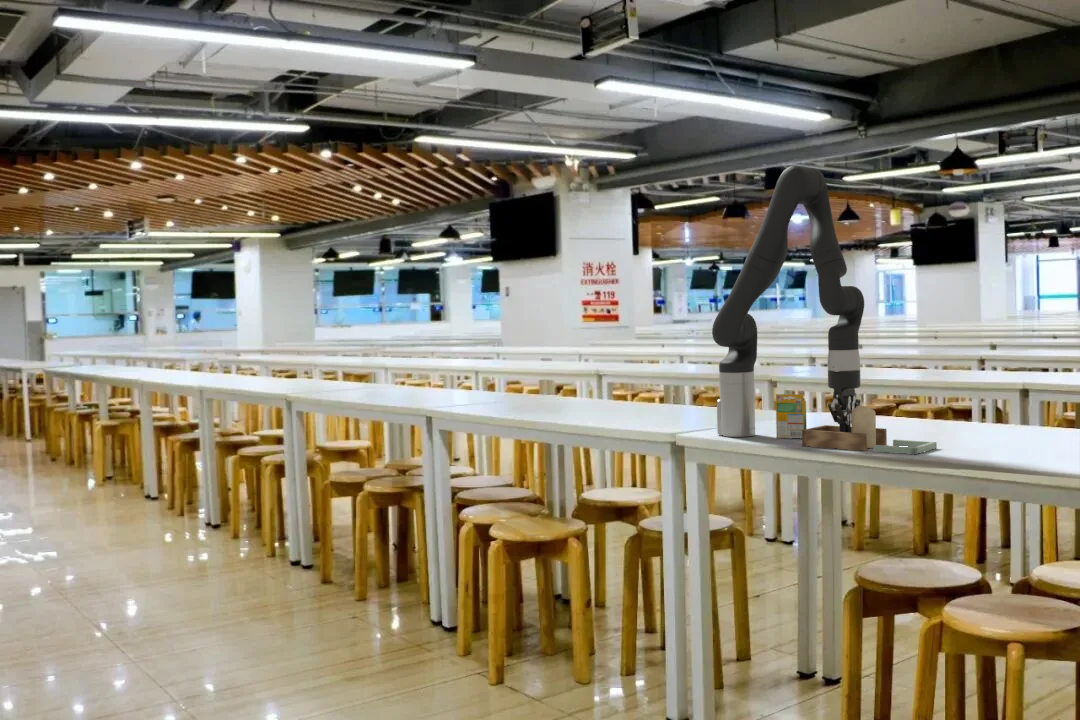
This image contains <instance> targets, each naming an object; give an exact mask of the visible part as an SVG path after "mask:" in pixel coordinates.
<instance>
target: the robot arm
mask: <svg viewBox="0 0 1080 720" xmlns="http://www.w3.org/2000/svg"><path fill="white" fill-rule="evenodd" d="M829 196H830V195H829V191H828V185H827V181H826V177H825V176H824V174H823V173H822V171H820V170H819V169H817V168H813V167H809V166H800V165H791V166H788V167H786V169H784V170H783V171H782V173H781V174H780V176H779V177H778V179H777V181H776V184H775V187H774V190H773V193H772V196H771V199H770V202H769V205H768V207H767V210H766V213H765V216H764V218H763V221H762V223H761V225H760V228H759V230H758V232H757V234H756V236H755V239H754V241H753V243H752V245H751V247H750V249H749V252H748V254H747V256H746V258H745V260H744V263H743V266H742V268H741V270H740V273H739V274H738V276H737V278H736V281H735V283H734V285H733V286H732V288H731V291H730V293H729V294H728V297H727V298H726V299H725V302H723V305H722V307H721V308H720V310H719V311H718V313H717V315H716V317H715V319H714V321H713V325H712V329H711V331H712V332H711V333H712V339H713V341H714V342H715V344H716V345H718V346H720V347H724V348H725V347H726V348H728V350H727V351H728V353H726V356H725V357H723V359H722V360H720V361H719V363H718V371H719V375H718V376H719V377H718V379H719V399H717V400H716V418H717V419H716V421H717V423H716V426H717V430H716V431H717V435H718V434H719V436H722V435H723V437H732V438H735V437H737V438H740V437H741V438H743V437H751V436H755V435H756V402H755V401H756V400H755V399H756V398H755V397H756V395H755V364H756V361H757V358H758V357H757V356H758V327H757V323H756V320H755V318H754V316H752V315H751V314H750V313H749V312H750V309H751V308H752V306H753V305H754V303H755V302H756V301H757V300H758V299H759V297H761V295H763V293H764V292H766V291H767V290H768V289H769V288H770V286H771V285H772V284H773V283H774V281H776V279H777V277H778V276H779V273H780V271H781V270H782V267H783V265H784V263H785V261H786V259H787V256H788V250H789V247H788V246H789V237H788V236H789V235H788V231H789V224H790V222H791V219H792V217H793V215H794V213H795V210H796V208H797V207H798V205H803V207H804V209H805V211H806V213H807V215H808V218H809V221H810V238H809V251H810V255H811V259H812V262H813V264H814V268H815V271H816V273H817V277H818V278H817V279H818V281H817V282H818V283H817V284H818V297H819V303H820V305H821V307H822V309H823V310H824V311H825V312H826V314H827V315H830V316H839V317H838V320H837V323H836V324H835V325H833V326H831V327H830V328H829V329H828V332H827V333H828V335H827V337H828V339H827V342H828V344H827V345H828V347H827V349H828V353H827V387H828V388H829V389H833V394H832V399H833V400H832V402H828V404H827V406H828V410H829V412H830V414H831V418H832V419H833V421H834V423H837V424H838V426H839V427H840V432H849V433H851V427H852V425H851V412H852V411H853V410H854V409H855V408H856V407H857V406H861V404H862V403H861V402H862V401H861V399H860V398H859V399H858V398H856V396H857V394H856V390H855V389H859V388H860V387H861V357H860V350H859V349H860V348H859V344H860V343H859V331H860V329H861V323H862V320H863V319H862V318H863V315H864V310H865V299H864V298H865V297H864V295H863V292H862V291H861V289H859V287H857V286H853V285H842V284H841V278H843V277H844V276H845V275H846V274H847V271H848V267H847V264H846V261H845V258H844V255H843V252H842V249H841V245H840V243H839V241H838V237H837V234H836V228H835V225H834V220H833V213H832V209H831V203H830V197H829Z"/></svg>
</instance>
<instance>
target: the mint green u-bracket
mask: <svg viewBox="0 0 1080 720" xmlns="http://www.w3.org/2000/svg"><path fill="white" fill-rule="evenodd" d="M899 446H908V447H899ZM935 448H938V447H937V442H936V441H924V440H910V439H909V440H908V439H907V440H905V439H893V440H892V445H873V448H872V452H873V451H874V453H884V452H890V453H889V454H897V453H907V454H906V455H910V454H917V455H919V454H918V453H921V452H924V451H927V452H929V451H928V450H930V451H932V450H931V449H934V450H936V449H935ZM924 453H925V452H924ZM921 454H922V453H921Z"/></svg>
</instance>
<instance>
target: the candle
mask: <svg viewBox="0 0 1080 720" xmlns="http://www.w3.org/2000/svg"><path fill="white" fill-rule="evenodd" d="M876 417H877V416H876V411H875V410H874V409H873V408H872V407H871V406H868V405H867V406H864V405H861V404H860V406H857V407H856V408H855V409H854V410H853V411H852V412H851V427H852V433H865V434H866V438H867V448H870V449H873V445H876V428H877V427H876V423H877V422H876V421H877V420H876Z"/></svg>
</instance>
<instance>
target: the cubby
mask: <svg viewBox="0 0 1080 720" xmlns="http://www.w3.org/2000/svg"><path fill="white" fill-rule="evenodd" d="M887 435H888V434H887V428H883V427H882V428H881V427H880V428H879V427H876V445H885V446H888V444H887V442H888V440H887V439H888V438H887ZM801 444H802V445H801V446H802V447H804V446H810V447H809V448H817V447H823V448H822V449H830V448H837V449H836V450H844V449H848V450H847V451H857V450H863V451H862V452H866V451H865V450H867V438H866V434H865V433H852V426H851V433H849V432H840V427H839V425H829V424H828V425H827V424H824V425H820V426H819V425H818V426H815V427H811V428H807V429H805V430H802V439H801ZM867 451H868V450H867Z"/></svg>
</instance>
